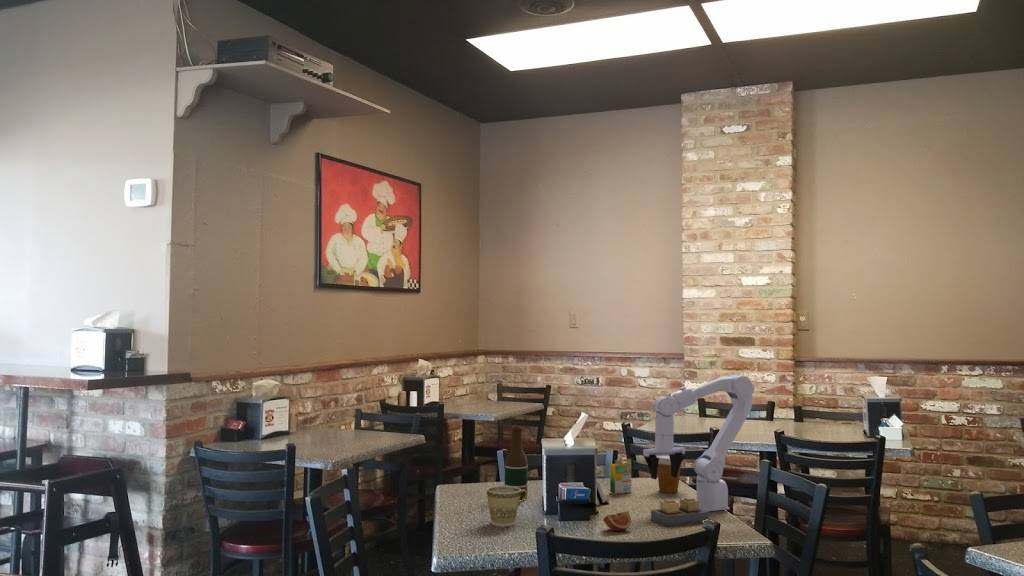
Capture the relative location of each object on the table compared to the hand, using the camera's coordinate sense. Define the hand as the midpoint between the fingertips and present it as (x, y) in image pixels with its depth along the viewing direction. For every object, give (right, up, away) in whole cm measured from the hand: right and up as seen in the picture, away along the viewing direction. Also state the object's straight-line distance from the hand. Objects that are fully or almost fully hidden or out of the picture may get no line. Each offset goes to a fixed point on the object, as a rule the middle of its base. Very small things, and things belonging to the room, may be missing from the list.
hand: (664, 477), depth 252 cm
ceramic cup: (-49, -9, -20) cm, 54 cm away
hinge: (-23, -11, +12) cm, 28 cm away
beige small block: (-1, -9, -16) cm, 19 cm away
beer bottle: (-47, -10, +12) cm, 49 cm away
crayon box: (-11, -11, +23) cm, 28 cm away
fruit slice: (-18, -9, -26) cm, 33 cm away
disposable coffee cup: (+7, -11, +27) cm, 30 cm away
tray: (+2, -9, -15) cm, 18 cm away
